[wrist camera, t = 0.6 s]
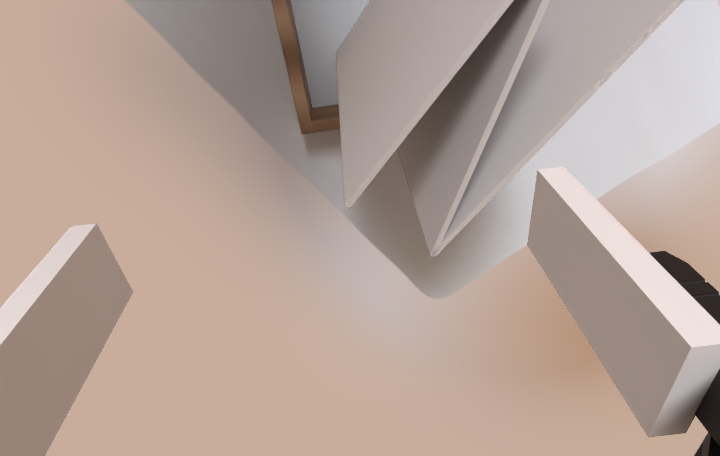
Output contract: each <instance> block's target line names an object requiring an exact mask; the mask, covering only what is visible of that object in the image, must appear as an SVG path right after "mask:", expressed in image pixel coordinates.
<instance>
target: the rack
mask: <svg viewBox="0 0 720 456" xmlns="http://www.w3.org/2000/svg"><path fill="white" fill-rule="evenodd" d="M272 4H273V8H274V13H275V17H276V21H277V26H278V30H279V35H280V39H281V44H282V48H283V53H284V57H285V61H286V66H287V70H288V75H289V79H290V84H291V88H292V93H293V97H294V101H295V106H296V110H297V115H298V119H299V124H300V128H301V133H302V134H308V133H314V132H321V131H328V130H334V129H340V117H339V104H337V105H331V106H324V107H318V108H312V104H311V99H310V94H309V90H308V85H307V80H306V75H305V70H304V65H303V60H302V55H301V50H300V45H299V40H298V36H297V31H296V26H295V21H294V16H293V11H292V6H291V1H290V0H272Z"/></svg>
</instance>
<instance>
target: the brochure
mask: <svg viewBox="0 0 720 456" xmlns="http://www.w3.org/2000/svg"><path fill="white" fill-rule="evenodd" d="M683 1H684V0H370V1H369V2H368V4H367V5H366V7H365V8H364V10H363V12H362V13H361V15H360V16H359V18H358V19H357V21H356V23H355V24H354V26H353V27H352V29H351V31H350V32H349V34H348V35H347V37H346V38H345V40H344V42H343V43H342V45H341V46H340V48H339V49H338V51H337V53H336V63H337V81H338V99H339V117H340V134H341V152H342V170H343V188H344V206H346V207H347V208H349V209H350V208H351V206H352V205H353V204H354V203H355V201H356V200H357V199H358V198H359V196H360V195H361V194H362V192H363V191H364V190H365V189H366V187H367V186H368V185H369V184H370V182H371V181H372V180H373V178H374V177H375V176H376V175H377V173H378V172H379V171H380V170H381V168H382V167H383V166H384V165H385V163H386V162H387V161H388V159H389V158H390V157H391V156H392V154H393V153H394V152H395V151H396V149H397V151H398V154H399V157H400V160H401V163H402V167H403V170H404V173H405V176H406V180H407V183H408V186H409V189H410V193H411V196H412V199H413V202H414V205H415V209H416V212H417V215H418V218H419V222H420V225H421V228H422V231H423V234H424V238H425V241H426V244H427V247H428V251H429V254H430V256H435V257H436V256H437V255H438V254H439V253H440V252H441V251H442V250H443V249H444V248H445V247H446V246H447V245H448V244H449V242H450V241H451V240H452V239H453V238H454V237H455V236H456V235H457V234H458V233H459V232H460V231H461V230H462V229H463V228H464V227H465V226H466V225H467V224H468V223H469V222H470V221H471V220H472V219H473V218H474V217H475V216H476V215H477V214H478V213H479V212H480V211H481V209H482V208H483V207H484V206H485V205H486V204H487V203H488V202H489V201H490V200H491V199H492V198H493V197H494V196H495V195H496V194H497V193H498V192H499V191H500V190H501V189H502V188H503V187H504V186H505V185H506V184H507V183H508V182H509V181H510V180H511V179H512V177H513V176H514V175H515V174H516V173H517V172H518V171H519V170H520V169H521V168H522V167H523V166H524V165H525V164H526V163H527V162H528V161H529V160H530V159H531V158H532V157H533V156H534V155H535V154H536V153H537V152H538V151H539V150H540V149H541V148H542V147H543V146H544V144H545V143H546V142H547V141H548V140H549V139H550V138H551V137H552V136H553V135H554V134H555V133H556V132H557V131H558V130H559V129H560V128H561V127H562V126H563V125H564V124H565V123H566V122H567V121H568V120H569V119H570V118H571V117H572V116H573V115H574V114H575V112H576V111H577V110H578V109H579V108H580V107H581V106H582V105H583V104H584V103H585V102H586V101H587V100H588V99H589V98H590V97H591V96H592V95H593V94H594V93H595V92H596V91H597V90H598V89H599V88H600V87H601V86H602V85H603V84H604V83H605V82H606V81H607V79H608V78H609V77H610V76H611V75H612V74H613V73H614V72H615V71H616V70H617V69H618V68H619V67H620V66H621V65H622V64H623V63H624V62H625V61H626V60H627V59H628V58H629V57H630V56H631V55H632V54H633V53H634V52H635V51H636V50H637V49H638V47H639V46H640V45H641V44H642V43H643V42H644V41H645V40H646V39H647V38H648V37H649V36H650V35H651V34H652V33H653V32H654V31H655V30H656V29H657V28H658V27H659V26H660V25H661V24H662V23H663V22H664V21H665V20H666V19H667V18H668V17H669V16H670V14H671V13H672V12H673V11H674V10H675V9H676V8H677V7H678V6H679V5H680V4H681V3H682V2H683Z"/></svg>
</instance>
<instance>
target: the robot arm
mask: <svg viewBox="0 0 720 456" xmlns="http://www.w3.org/2000/svg"><path fill="white" fill-rule="evenodd" d="M527 245H528V247H529V248H530V250H531V251H532V253H533V255H534V256H535V258H536V259H537V261H538V263H539V264H540V266H541V267H542V269H543V270H544V272H545V274H546V275H547V277H548V278H549V280H550V282H551V283H552V284H553V286H554V288H555V290H556V291H557V293H558V294H559V296H560V298H561V299H562V301H563V302H564V304H565V306H566V307H567V309H568V310H569V312H570V313H571V315H572V317H573V318H574V320H575V321H576V323H577V324H578V326H579V328H580V329H581V331H582V333H583V334H584V336H585V337H586V339H587V340H588V342H589V344H590V345H591V347H592V348H593V350H594V351H595V353H596V355H597V356H598V358H599V360H600V361H601V363H602V364H603V366H604V368H605V369H606V371H607V372H608V374H609V375H610V377H611V378H612V380H613V382H614V383H615V385H616V387H617V388H618V389H619V391H620V393H621V395H622V396H623V398H624V399H625V401H626V403H627V404H628V406H629V407H630V409H631V411H632V412H633V414H634V415H635V417H636V419H637V420H638V422H639V423H640V425H641V426H642V428H643V430H644V431H645V433H646V434H647V436H648V437H654V436H664V435H672V434H681V433H686V432H687V430H688V428H689V426H690V425H691V423H692V421H693V419H694V417H695V416H697V418H698V419H699V420H700V422H701V423H702V424H703V426H704V427H705V428H706V430H707V431H708V434H707V435H706V437H705V439H704V440H703V442H702V444H701V445H700V447H699V449H698V450H697V452H696V454H695V455H694V456H720V295H719V292H718V291H717V290H716V289H715V288H714V287H713V286H712V285H710V284H709V283H708V282H707V283H706V282H705V279H704V278H703V277H702V276H701V275H700V274H698V272H696V271H695V270H694V269H693V268H692V267H691V266H690V265H689V264H688V263H686V262H684V261H682V260H681V259H679V258H677V257H675V256H673V255H671V254H669V253H668V252H666V251H660V252H652V253H648V252H647V251H646V250H645V249H644V248H643V247H642V246H641V244H640V243H639V242H638V241H636V239H635V238H634V237H633V236H632V235H631V234H630V233H629V232H627V230H626V229H625V228H624V227H623V226H622V225H621V224H620V223H619V222H618V221H617V220H616V219H615V218H614V217H613V216H612V215H611V214H610V213H609V212H608V211H607V210H606V209H605V208H604V207H603V206H602V205H601V204H600V203H599V202H598V201H597V200H596V199H595V198H594V197H593V196H592V195H591V194H590V193H589V192H588V191H587V190H586V189H585V188H584V187H583V186H582V185H581V184H580V183H579V182H578V181H577V180H576V179H575V178H574V177H573V176H572V175H571V174H570V173H569V172H568V171H567V170H566V169H565V167H556V168H548V169H540V170H538V171H537V178H536V185H535V192H534V200H533V207H532V214H531V222H530V229H529V236H528V243H527ZM132 293H133V291H132V289H131V287H130V285H129V283H128V281H127V279H126V277H125V276H124V274H123V272H122V270H121V268H120V266H119V265H118V262H117V261H116V259H115V257H114V255H113V253H112V251H111V249H110V248H109V246H108V244H107V242H106V240H105V238H104V236H103V235H102V233H101V231H100V229H99V227H98V225H97V224H96V223H95V224H87V225H79V226H71V227H70V228H69V230H68V231H67V232H66V233H65V234H64V235H63V236H62V237H61V239H60V240H59V241H58V242H57V243H56V244H55V246H54V247H53V248H52V249H51V250H50V252H48V254H47V255H46V256H45V257H44V258H43V259H42V261H41V262H40V263H39V264H38V265H37V266H36V268H35V269H34V270H33V271H32V272H31V273H30V274H29V276H28V277H27V278H26V279H25V280H24V281H23V282H22V284H21V285H20V286H19V287H18V288H17V289H16V291H15V292H14V293H13V294H12V295H11V296H10V297H9V299H8V300H7V301H6V302H5V303H4V304H3V306H2V307H1V308H0V456H45V455H46V453H47V451H48V449H49V447H50V445H51V443H52V442H53V440H54V438H55V436H56V434H57V432H58V430H59V429H60V427H61V425H62V423H63V421H64V419H65V417H66V416H67V414H68V412H69V410H70V408H71V406H72V404H73V403H74V401H75V399H76V397H77V395H78V393H79V392H80V389H81V388H82V386H83V384H84V382H85V380H86V379H87V377H88V375H89V373H90V371H91V369H92V367H93V365H94V364H95V362H96V360H97V358H98V356H99V354H100V352H101V351H102V349H103V347H104V345H105V343H106V341H107V340H108V338H109V336H110V334H111V332H112V330H113V328H114V327H115V325H116V323H117V321H118V319H119V317H120V315H121V314H122V312H123V310H124V308H125V306H126V304H127V302H128V301H129V299H130V297H131V295H132Z"/></svg>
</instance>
